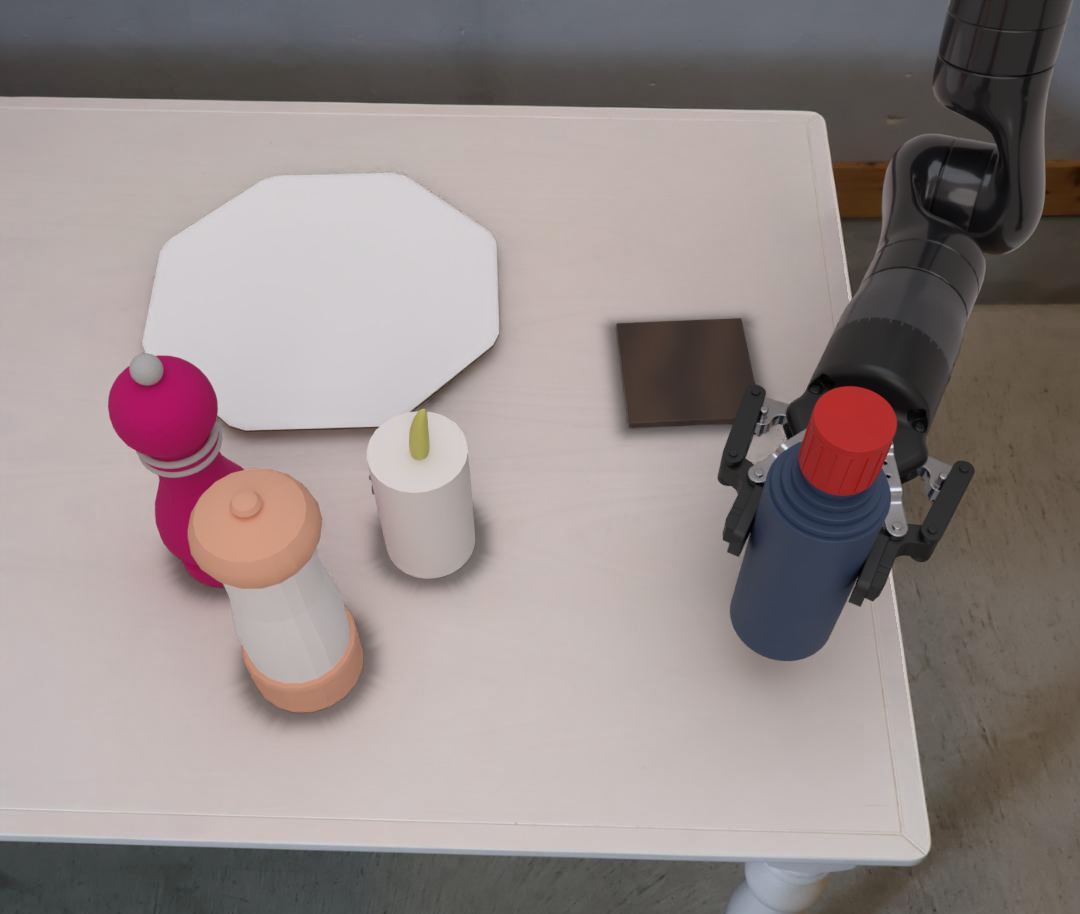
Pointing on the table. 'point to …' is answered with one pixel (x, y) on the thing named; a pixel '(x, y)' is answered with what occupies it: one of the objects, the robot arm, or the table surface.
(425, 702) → the table surface
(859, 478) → the cap
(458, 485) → the candle
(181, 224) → the table surface
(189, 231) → the plate
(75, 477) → the table surface
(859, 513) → the bottle
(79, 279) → the table surface
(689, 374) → the coaster
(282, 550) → the pepper shaker
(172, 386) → the pepper mill
